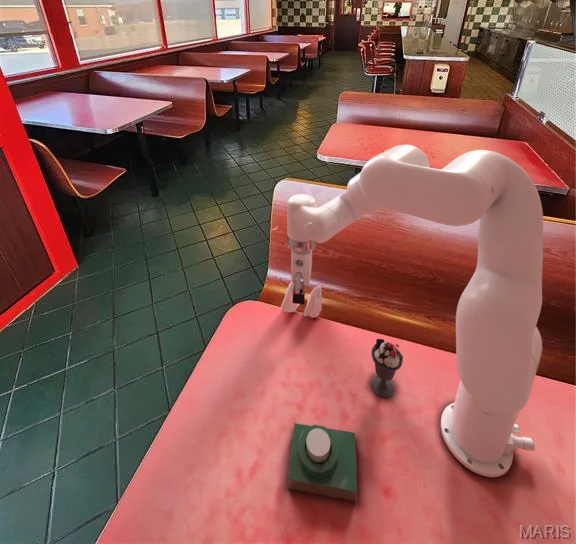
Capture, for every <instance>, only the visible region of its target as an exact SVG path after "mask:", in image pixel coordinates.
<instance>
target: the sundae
mask: <svg viewBox="0 0 576 544" xmlns="http://www.w3.org/2000/svg"><path fill="white" fill-rule="evenodd" d="M375 341H376V342H375V344H373V347H372V348H371V351H370V352H371V358H372V361H373V363H374V369H375V373H376V376H375V377H374V378H373V379H372V380H371V388H372V391H373V393H375V394H376V395H377V396H379V397H380V398H384V399H387V398H390V397H392V396H393V394H394V391H395V389H394V388H395V387H394V384H393V382H392V380H393V378H394V377H395V375H396V372H397V371H398V370H400V369H401V368H402V365H403V363H404V360H403V359H404V356H403V354H402V353H401V351H400V350H399V349H398V348H400V346H399V344H398V343H396V344H393V343H392V342H388V341H385V339H383V338H376V340H375Z"/></svg>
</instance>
